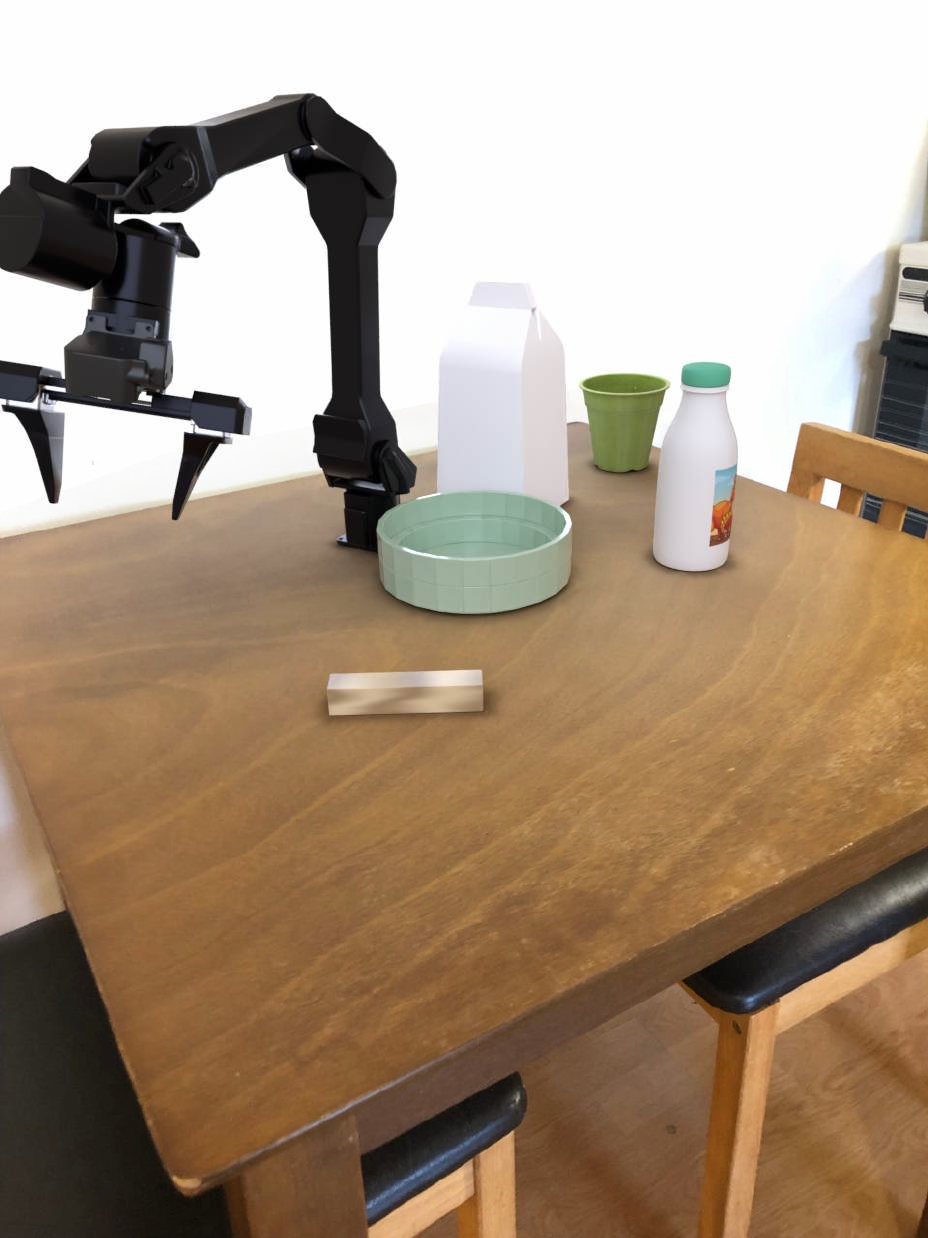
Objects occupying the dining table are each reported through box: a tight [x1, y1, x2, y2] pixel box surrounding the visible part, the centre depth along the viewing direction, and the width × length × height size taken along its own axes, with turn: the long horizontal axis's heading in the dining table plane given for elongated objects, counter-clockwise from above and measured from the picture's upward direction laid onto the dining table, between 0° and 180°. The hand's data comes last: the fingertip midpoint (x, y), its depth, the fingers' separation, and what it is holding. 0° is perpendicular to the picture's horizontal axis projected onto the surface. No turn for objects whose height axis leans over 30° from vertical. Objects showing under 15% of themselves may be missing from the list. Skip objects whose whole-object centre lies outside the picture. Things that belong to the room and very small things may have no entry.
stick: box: [326, 669, 484, 716], centre depth 73 cm, size 12×2×2 cm, turn 91°
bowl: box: [377, 490, 573, 615], centre depth 94 cm, size 19×19×6 cm
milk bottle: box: [652, 361, 739, 572], centre depth 93 cm, size 8×8×20 cm
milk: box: [436, 278, 570, 507], centre depth 108 cm, size 12×12×26 cm
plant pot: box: [578, 372, 672, 474], centre depth 124 cm, size 12×12×11 cm
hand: (114, 511), depth 73 cm, fingers open, 9 cm apart
